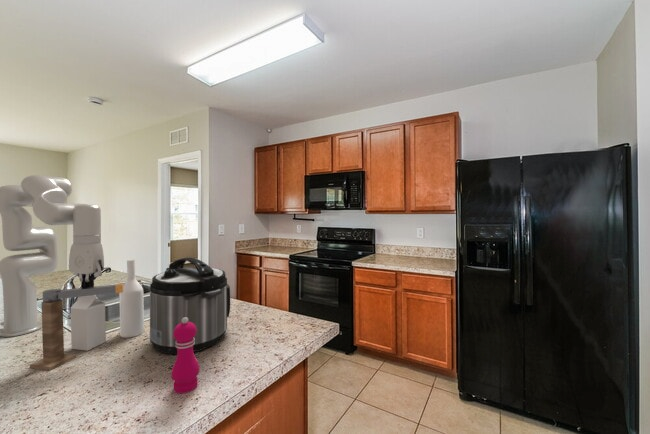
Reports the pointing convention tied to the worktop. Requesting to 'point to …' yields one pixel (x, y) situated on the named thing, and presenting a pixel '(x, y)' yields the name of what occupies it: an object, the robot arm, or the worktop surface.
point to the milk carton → (87, 323)
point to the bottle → (131, 305)
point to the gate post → (52, 337)
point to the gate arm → (81, 292)
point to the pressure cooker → (188, 304)
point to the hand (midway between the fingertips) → (87, 292)
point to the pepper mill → (185, 358)
